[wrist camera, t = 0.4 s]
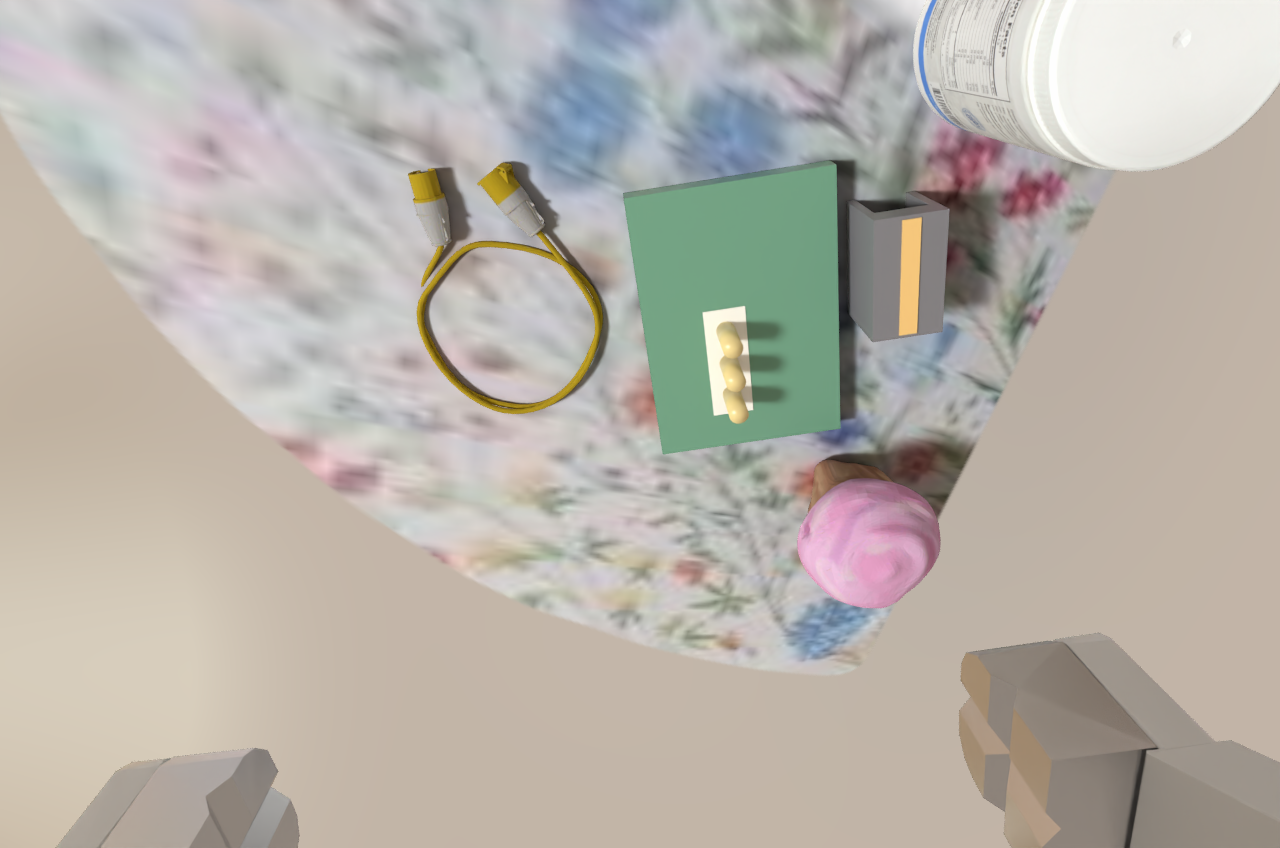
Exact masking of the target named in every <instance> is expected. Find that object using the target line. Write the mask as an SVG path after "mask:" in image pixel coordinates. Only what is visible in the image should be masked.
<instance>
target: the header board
mask: <svg viewBox="0 0 1280 848" xmlns="http://www.w3.org/2000/svg"><path fill="white" fill-rule="evenodd" d="M623 197H624V204H625V211H626V217H627V224H628V230H629V237H630V243H631V250H632V256H633V263H634V269H635V276H636V282H637V289H638V295H639V302H640V308H641V315H642V321H643V328H644V334H645V341H646V347H647V354H648V361H649V367H650V374H651V380H652V387H653V393H654V400H655V406H656V413H657V419H658V426H659V432H660V439H661V445H662V452H663V454H669V453H676V452H683V451H690V450H696V449H703V448H710V447H717V446H724V445H731V444H738V443H744V442H751V441H758V440H765V439H772V438H779V437H786V436H792V435H799V434H806V433H813V432H820V431H827V430H834V429H840V368H839V300H838V231H837V165H836V164H835V163H833V162H831V161H823V162H816V163H810V164H804V165H797V166H791V167H785V168H779V169H772V170H766V171H760V172H753V173H747V174H741V175H735V176H728V177H722V178H716V179H710V180H703V181H697V182H691V183H684V184H678V185H672V186H666V187H659V188H653V189H647V190H641V191H634V192H628V193H623Z"/></svg>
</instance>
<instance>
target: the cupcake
mask: <svg viewBox="0 0 1280 848" xmlns="http://www.w3.org/2000/svg"><path fill="white" fill-rule="evenodd" d="M797 545H798V553H799V557H800V560H801V562H802V564H803V566H804V568H805V569H806V571H807V573H808V574H809V575H810V576H811V577H812V579H813V580H814V581H815V582H816V583H817V584H818V585H819V586H820V587H821V588H822V589H823V590H824V591H825V592H826V593H828V594H829V595H830V596H832V597H833V598H835V599H837V600H839V601H841V602H844V603H846V604H849V605H853V606H858V607H864V608H884V607H887V606H889V605H891V604H893V603H895V602H897V601H898V600H900V599H901V598H902V597H903V596H904V595H905V594H906V593H907V592H909V591H910V590H911V589H913V588H914V587H915V586H916V585H917V584H918V583H920V581H921V580H922V579H923V578H924V577H925V576H926V575H927V573H928V572H929V571H930V570H931V568H932V567H933V565H934V563H935V561H936V559H937V557H938V555H939V552H940V532H939V523H938V520H937V518H936V515H935V513H934V510H933V509H932V507H931V506H930V504H929V503H928V501H927V500H926V499H924V498H923V497H922V496H921V495H919V494H918V493H917V492H915V491H913V490H911V489H910V488H908V487H905V486H903V485H900V484H897V483H894V482H893V481H892V480H891V479H890V478H889V477H887V476H886V475H885V474H884V472H882V471H881V470H879V469H878V468H877V467H873V466H867V465H860V464H856V463H843V462H839V461H835V460H824V461H822V462H820V463H819V464H817V466H816V467H815V470H814V482H813V489H812V498H811V502H810V505H809V508H808V514H807V516H806V518H805V520H804V521H803V523H802V525H801V526H800V530H799V534H798V541H797Z"/></svg>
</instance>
